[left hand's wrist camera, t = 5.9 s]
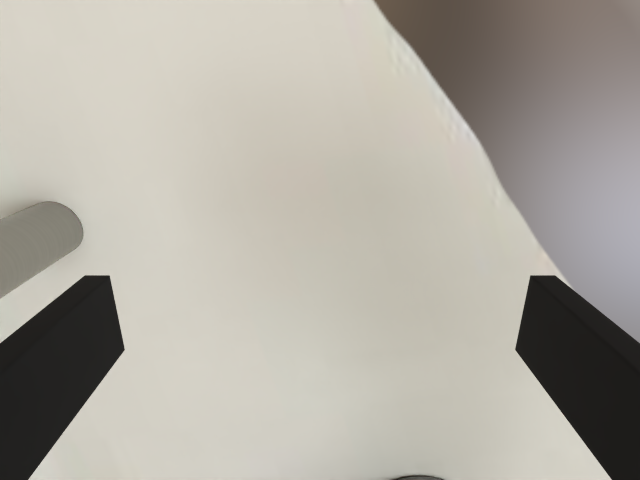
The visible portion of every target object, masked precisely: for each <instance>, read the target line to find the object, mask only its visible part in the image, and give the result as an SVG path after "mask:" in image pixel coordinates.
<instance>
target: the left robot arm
mask: <svg viewBox="0 0 640 480" xmlns="http://www.w3.org/2000/svg"><path fill="white" fill-rule="evenodd" d="M124 350H125V349H124V344H123V339H122V334H121V329H120V324H119V320H118V315H117V310H116V305H115V300H114V295H113V290H112V285H111V280H110V276H84V277H83V278H81V279H80V280H79V281H78V282H76V283H75V284H74V285H73V286H71V287H70V288H69V289H68V290H66V291H65V292H64V293H63V294H61V295H60V296H59V297H58V298H56V299H55V300H54V301H53V302H51V303H50V304H49V305H48V306H46V307H45V308H44V309H43V310H41V311H40V312H39V313H38V314H36V315H35V316H34V317H33V318H31V319H30V320H29V321H28V322H26V323H25V324H24V325H23V326H21V327H20V328H19V329H18V330H16V331H15V332H14V333H13V334H11V335H10V336H9V337H8V338H6V339H5V340H4V341H3V342H1V343H0V480H28V479H29V478H30V476H31V475H32V474H33V472H34V471H35V470H36V468H37V467H38V466H39V464H40V463H41V462H42V460H43V459H44V458H45V456H46V455H47V454H48V452H49V451H50V449H51V448H52V447H53V445H54V444H55V443H56V441H57V440H58V439H59V437H60V436H61V435H62V433H63V432H64V431H65V429H66V428H67V427H68V425H69V424H70V423H71V421H72V420H73V419H74V417H75V416H76V415H77V413H78V412H79V410H80V409H81V408H82V406H83V405H84V404H85V402H86V401H87V400H88V398H89V397H90V396H91V394H92V393H93V392H94V390H95V389H96V388H97V386H98V385H99V384H100V382H101V381H102V380H103V378H104V377H105V376H106V374H107V373H108V371H109V370H110V369H111V367H112V366H113V365H114V363H115V362H116V361H117V359H118V358H119V357H120V355H121V354H122V353H123V351H124ZM515 350H516V351H517V353H518V354H519V355H520V357H521V358H522V359H523V361H524V362H525V363H526V365H527V366H528V367H529V369H530V370H531V371H532V373H533V374H534V376H535V377H536V378H537V380H538V381H539V382H540V384H541V385H542V386H543V388H544V389H545V390H546V392H547V393H548V394H549V396H550V397H551V398H552V400H553V401H554V402H555V404H556V405H557V406H558V408H559V409H560V410H561V412H562V413H563V415H564V416H565V417H566V419H567V420H568V421H569V423H570V424H571V425H572V427H573V428H574V429H575V431H576V432H577V433H578V435H579V436H580V437H581V439H582V440H583V441H584V443H585V444H586V445H587V447H588V448H589V449H590V451H591V452H592V454H593V455H594V456H595V458H596V459H597V460H598V462H599V463H600V464H601V466H602V467H603V468H604V470H605V471H606V472H607V474H608V475H609V476H610V478H611V479H612V480H640V343H639V342H637V341H636V340H635V339H634V338H632V337H631V336H630V335H629V334H627V333H626V332H625V331H624V330H622V329H621V328H620V327H619V326H617V325H616V324H615V323H614V322H612V321H611V320H610V319H609V318H607V317H606V316H605V315H604V314H602V313H601V312H600V311H599V310H597V309H596V308H595V307H594V306H592V305H591V304H590V303H589V302H587V301H586V300H585V299H584V298H582V297H581V296H580V295H579V294H577V293H576V292H575V291H574V290H572V289H571V288H570V287H569V286H567V285H566V284H565V283H564V282H562V281H561V280H560V279H559V278H557V277H556V276H530V280H529V285H528V290H527V295H526V300H525V305H524V310H523V315H522V320H521V324H520V329H519V334H518V339H517V344H516V349H515ZM398 480H442V479H438V478H434V477H425V476H415V477H407V478H402V479H398Z"/></svg>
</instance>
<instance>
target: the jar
mask: <svg viewBox="0 0 640 480" xmlns="http://www.w3.org/2000/svg"><path fill="white" fill-rule="evenodd" d="M82 237H83V228H82V225H81V222H80V220H79V219H78V217H77V216H76V215H75V213H74V212H73V211H71V210H70V209H69V208H67V207H66V206H64V205H62V204H59V203H55V202H42V203H39V204H37V205H34V206H32V207H29V208H27V209H25V210H22V211H20V212H17V213H15V214H13V215H10V216H8V217H5V218H3V219H1V220H0V298H2V297H3V296H5V295H6V294H8V293H9V292H11V291H12V290H14V289H15V288H17V287H18V286H20V285H21V284H23V283H24V282H26V281H27V280H29V279H30V278H32V277H33V276H35V275H37V274H38V273H40V272H41V271H43V270H44V269H46V268H47V267H49V266H50V265H52V264H53V263H55V262H56V261H58V260H59V259H61V258H62V257H64V256H65V255H67V254H68V253H70V252H71V251H73V250H74V249H76V248H77V247H78V246H79V245H80V243H81V241H82Z"/></svg>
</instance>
